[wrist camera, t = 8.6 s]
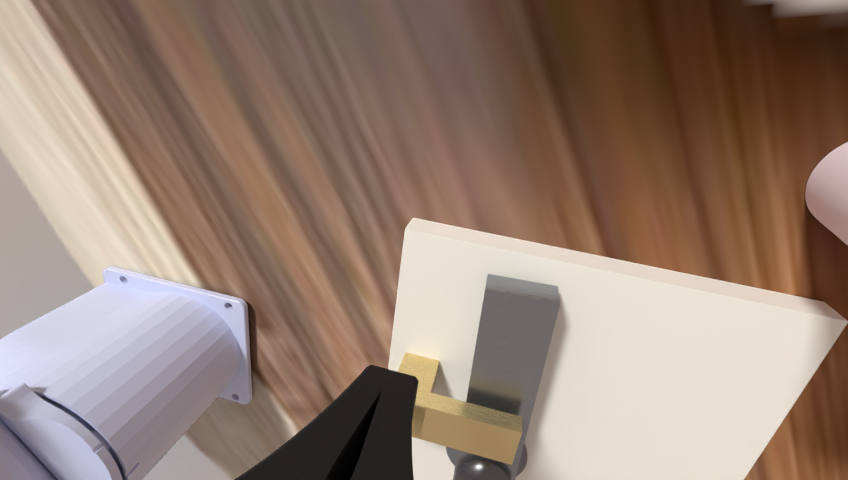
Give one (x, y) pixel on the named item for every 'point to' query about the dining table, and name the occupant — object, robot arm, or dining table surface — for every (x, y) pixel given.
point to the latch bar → (509, 361)
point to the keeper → (459, 418)
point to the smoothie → (830, 192)
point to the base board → (615, 357)
